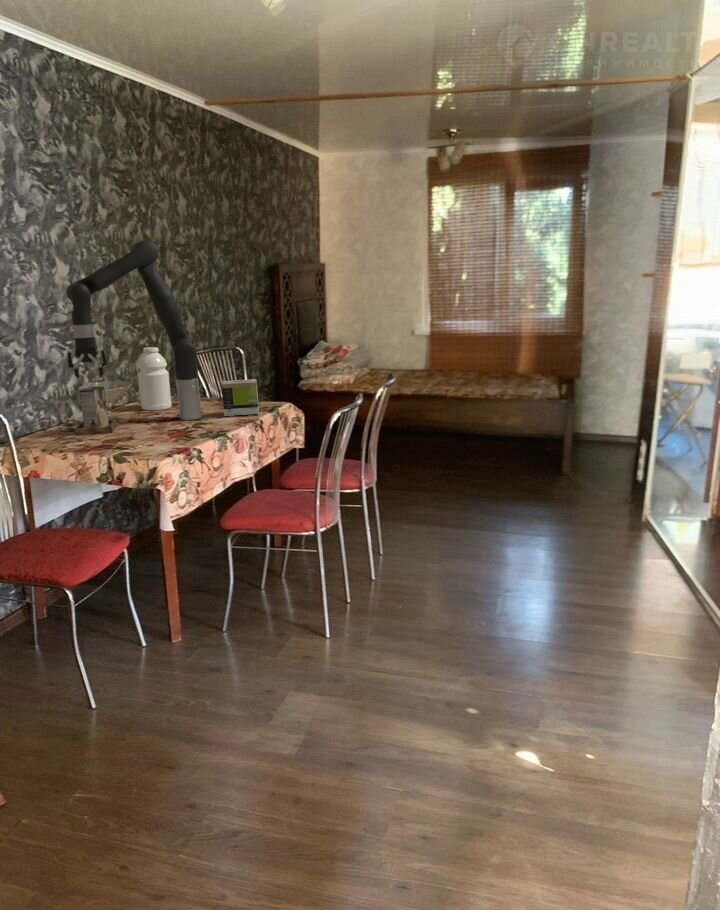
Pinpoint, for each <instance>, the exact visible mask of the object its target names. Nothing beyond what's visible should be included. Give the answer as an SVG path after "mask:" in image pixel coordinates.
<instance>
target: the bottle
mask: <svg viewBox="0 0 720 910" xmlns="http://www.w3.org/2000/svg"><path fill="white" fill-rule="evenodd" d="M159 351H160V349H159V347H157V346H156V347H155V346H151V347H144V348H143V350H142V352H143V354H142V355H141V357H140V358H139V360H138V363H137V366H136V367H137V368H138V369H139V372H138V373H137V381H138V390H139V400H140V408H141V409H142V410H144V411H159V410H160V411H161V410H165V409H170V408H171V407H172V406H173V405H172V403H173V402H172V395H171V386H170V385H171V384H170V372H169V371H168V370H167V369H166V368H167V366H168V363H167V360H166V359H165V357H163V356H162V354H161V353H159Z"/></svg>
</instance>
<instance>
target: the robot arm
mask: <svg viewBox="0 0 720 910" xmlns="http://www.w3.org/2000/svg"><path fill="white" fill-rule="evenodd" d="M158 257H159V248H158V246H157V244H156V243H154V242H153V241H151V240H147V239H145V240H140V241H138V242H136V243H134V244H133V245H132V246H131V249H130V251H129V252H127V254H125V255H124V256H122V257H120V258H118V259H116V260H114V261H112V262H110V263H108V264H106V265H104V266H102V267H100V268H99V269H96V271H93V272H92V273H90V274H89V275H88V276H86V277H84V278H81V279H79V280H77V281H75V282H73V283H71V284H70V285H69V286H68V287H67V288H66V296H67V298H68V299H69V300H70V301H72V311H71V320H72V327H73V328H72V330H73V331H72V333H73V334H72V336H73V340H74V345H75V346H74V347H75V351H74V352H73V351H69V352H67V365H68V366H67V367H68V368H71V369H73V372H74V377H75V378H76V379H80V378H81V377H80V368H79V367H80V364H81V363H92V362H94V364H96V365H97V366H98V372H99V373H98V374H99V378H103V376H104V375H105V373H104V367H105V366H107V365H108V360H107V355H106V353H107V352H106V351H105V349H102V350H97V344H96V339H95V338H96V336H95V331H94V327H93V321H92V320H93V319H92V314H91V309H92V302H91V301H92V296H91V295H93V294H94V293H97V292H101V291H103V290H105V289H106V288H107V287H109V286H111V285H112V284H114V283H116V282H117V281H119V280H121V278H123V277H125V276H126V275H128V274H129V273H131V272H133V271H135V270H138V272H139V274H140V276H141V278H142V280H143V283H144V285H145V288H146V291H147V293H148V296H149V297H150V300H151V303H152V306H153V308H154V311H155V313H156V315H157V317H158V319H159V321H160V322H161V324H162V326H163V328H164V330H165V332H166V334H167V336H168V339H169V343H170V345H171V346H170V347H171V349H172V353H173V356H174V366H175V382H176V393H177V394H176V395H177V403H178V415H179V419H180V420H184V421H185V420H186V421H187V420H188V421H190V420H197V419H202V408H201V407H202V406H201V395H200V386H199V385H200V383H199V366H198V365H199V364H198V363H199V362H198V353H197V352H198V351H197V348H196V346H195V345H194V344H193V343H192V341H191V340H190V338H189V335H188V334H187V332H186V330H185V328H184V325H183V320H182V316H181V312H180V308H179V305H178V303H177V300H176V298H175V295H174V293H173V291H172V290H171V288H170V287H169V285H168V284H167V282H166V281H165V280H164V278H163V277H162V276H161V274H160V272H159V270H158V267H157V265H156V261H157V259H158ZM98 354H99V356H100V357H101V359H102V362H101V361H100V360H99V358H97V356H98ZM74 356H75V357H76V358H77V360H76V362H75V364H74V363H73V359H74Z"/></svg>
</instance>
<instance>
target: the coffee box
mask: <svg viewBox="0 0 720 910" xmlns="http://www.w3.org/2000/svg"><path fill="white" fill-rule="evenodd" d="M79 399H80V405H81V412H82V422H84V428H93V427H106V426H108V425H109V422H108V420H109V416H108V408H107V400H106V393H105V387H104V386H89V387H86V388H84V389H81V390H79Z"/></svg>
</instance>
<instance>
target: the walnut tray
mask: <svg viewBox="0 0 720 910" xmlns="http://www.w3.org/2000/svg"><path fill="white" fill-rule="evenodd" d="M108 422H109V425H108V426H106V427H93V428H84V421H80V422H79V423H78V424H77V425H76V426H75V428H74V430H73V431H74V436H85V435H87V436H88V435H99V434H100V435H101V434H102V435H103V434H113V433H114V431H115V429H116V427H117V419H108Z"/></svg>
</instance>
